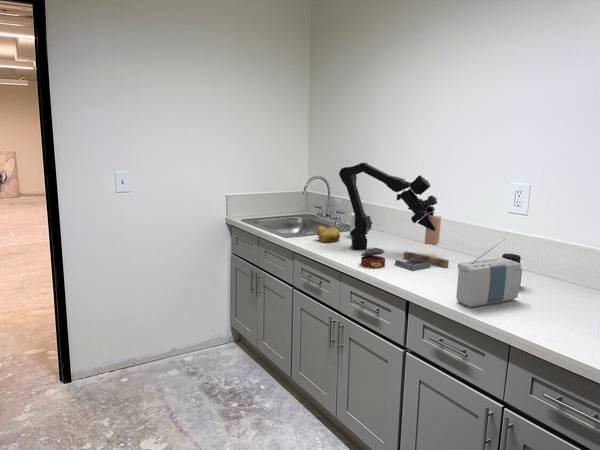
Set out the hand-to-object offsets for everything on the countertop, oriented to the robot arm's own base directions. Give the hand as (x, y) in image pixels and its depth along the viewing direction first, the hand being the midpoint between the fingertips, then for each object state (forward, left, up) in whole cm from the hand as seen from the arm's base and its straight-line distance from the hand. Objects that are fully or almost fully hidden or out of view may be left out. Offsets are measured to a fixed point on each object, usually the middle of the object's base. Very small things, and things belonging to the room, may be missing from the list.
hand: (436, 229), depth 205 cm
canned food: (-30, -7, -14) cm, 34 cm away
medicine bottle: (+11, -39, -14) cm, 43 cm away
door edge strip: (-7, -6, -13) cm, 16 cm away
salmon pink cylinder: (-1, +1, -7) cm, 7 cm away
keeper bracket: (-14, -10, -13) cm, 22 cm away
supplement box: (-22, +46, -14) cm, 53 cm away
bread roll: (-38, +39, -14) cm, 56 cm away
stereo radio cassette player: (-6, -53, -14) cm, 55 cm away
